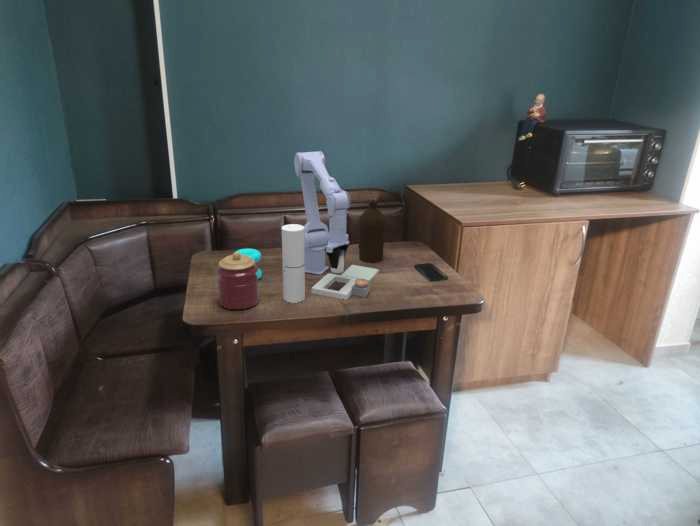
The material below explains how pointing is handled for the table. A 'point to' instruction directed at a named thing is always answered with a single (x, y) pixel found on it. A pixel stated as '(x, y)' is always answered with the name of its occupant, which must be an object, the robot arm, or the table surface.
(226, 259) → the canister
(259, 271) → the cyan rounded piece
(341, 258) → the cylinder
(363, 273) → the mat
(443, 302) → the table surface
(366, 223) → the olive oil
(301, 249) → the cylindrical container
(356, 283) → the plunger
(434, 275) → the phone
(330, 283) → the housing
